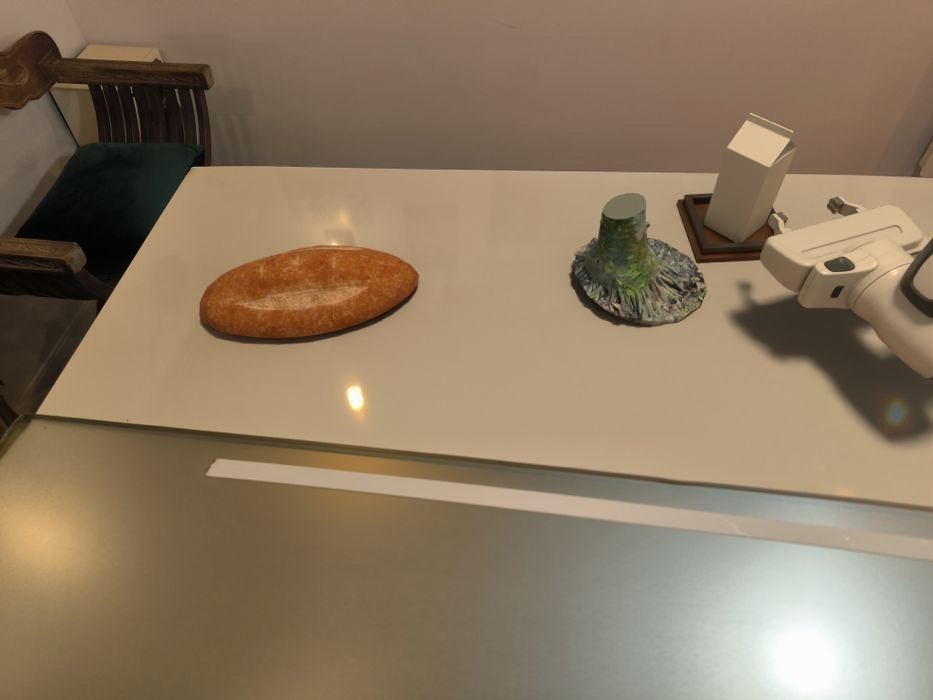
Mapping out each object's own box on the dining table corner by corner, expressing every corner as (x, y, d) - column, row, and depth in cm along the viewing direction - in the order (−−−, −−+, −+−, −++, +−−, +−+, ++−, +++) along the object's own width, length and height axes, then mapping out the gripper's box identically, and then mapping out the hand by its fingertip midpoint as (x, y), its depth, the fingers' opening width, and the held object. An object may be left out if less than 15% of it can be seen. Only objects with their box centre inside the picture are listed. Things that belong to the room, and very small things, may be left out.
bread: (211, 276, 104) (189, 237, 97) (416, 249, 104) (409, 208, 97) (195, 357, 93) (169, 319, 86) (424, 326, 94) (417, 286, 87)
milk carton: (739, 245, 99) (779, 142, 84) (702, 225, 102) (734, 122, 87) (764, 225, 101) (808, 122, 86) (728, 206, 105) (763, 103, 90)
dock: (762, 198, 107) (767, 187, 105) (791, 258, 97) (797, 246, 96) (676, 203, 107) (679, 192, 105) (697, 263, 98) (700, 251, 96)
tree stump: (697, 345, 89) (692, 255, 76) (566, 333, 98) (542, 251, 85) (715, 256, 98) (714, 163, 85) (594, 253, 107) (576, 169, 94)
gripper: (954, 235, 76) (877, 172, 84) (811, 276, 73) (746, 207, 82) (927, 271, 81) (857, 209, 89) (792, 311, 78) (733, 243, 87)
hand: (803, 208), depth 86 cm, fingers open, 8 cm apart
